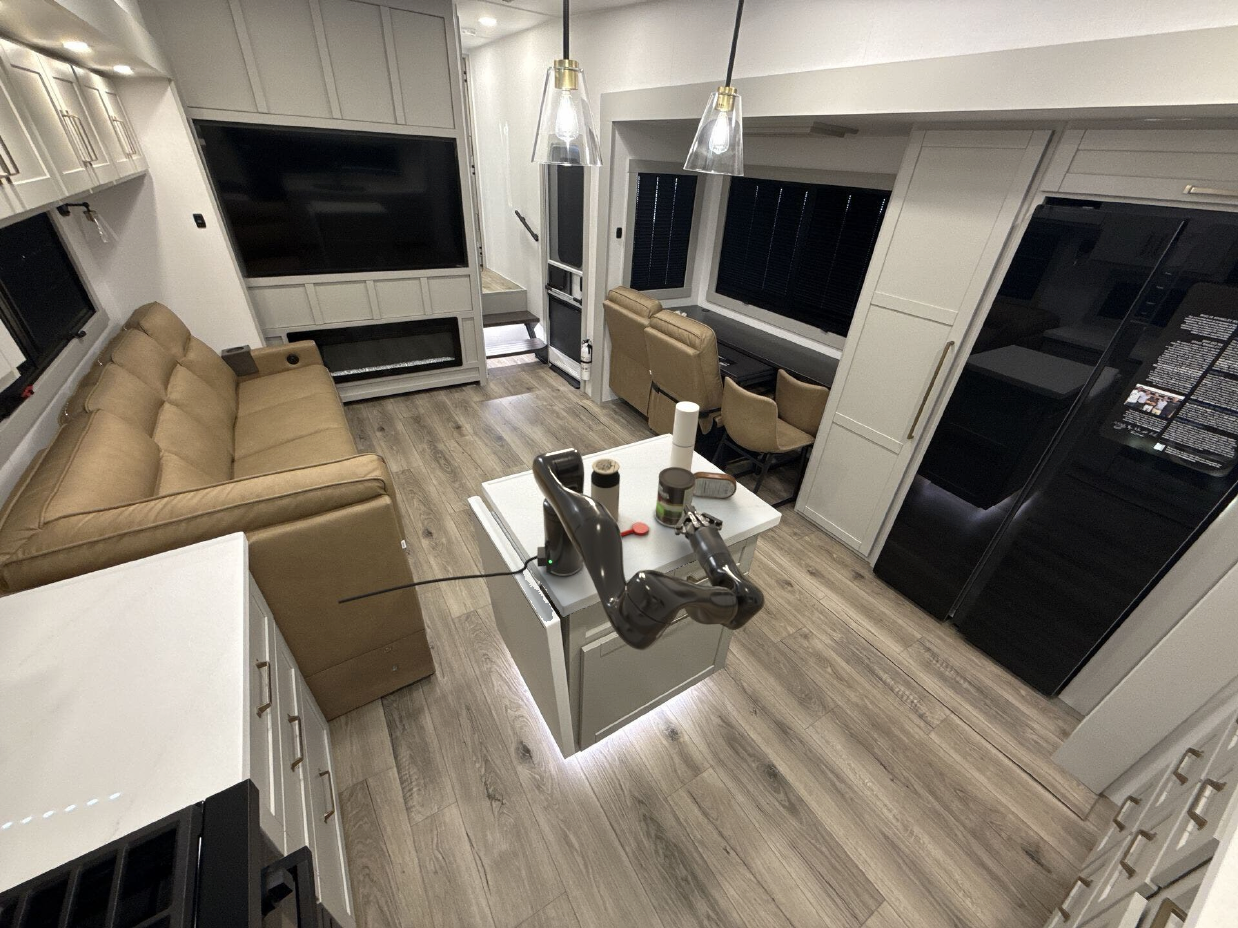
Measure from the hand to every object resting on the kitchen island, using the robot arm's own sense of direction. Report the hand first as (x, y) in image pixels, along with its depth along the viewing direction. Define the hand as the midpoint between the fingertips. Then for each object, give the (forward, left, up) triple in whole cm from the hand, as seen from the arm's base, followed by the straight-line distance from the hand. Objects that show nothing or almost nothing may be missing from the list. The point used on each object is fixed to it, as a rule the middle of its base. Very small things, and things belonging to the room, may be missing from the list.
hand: (687, 506), depth 128 cm
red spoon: (-16, +3, -11) cm, 20 cm away
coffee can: (-1, +10, -12) cm, 15 cm away
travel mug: (-21, +11, -12) cm, 26 cm away
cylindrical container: (+6, +32, -12) cm, 35 cm away
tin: (+13, +19, -12) cm, 26 cm away
